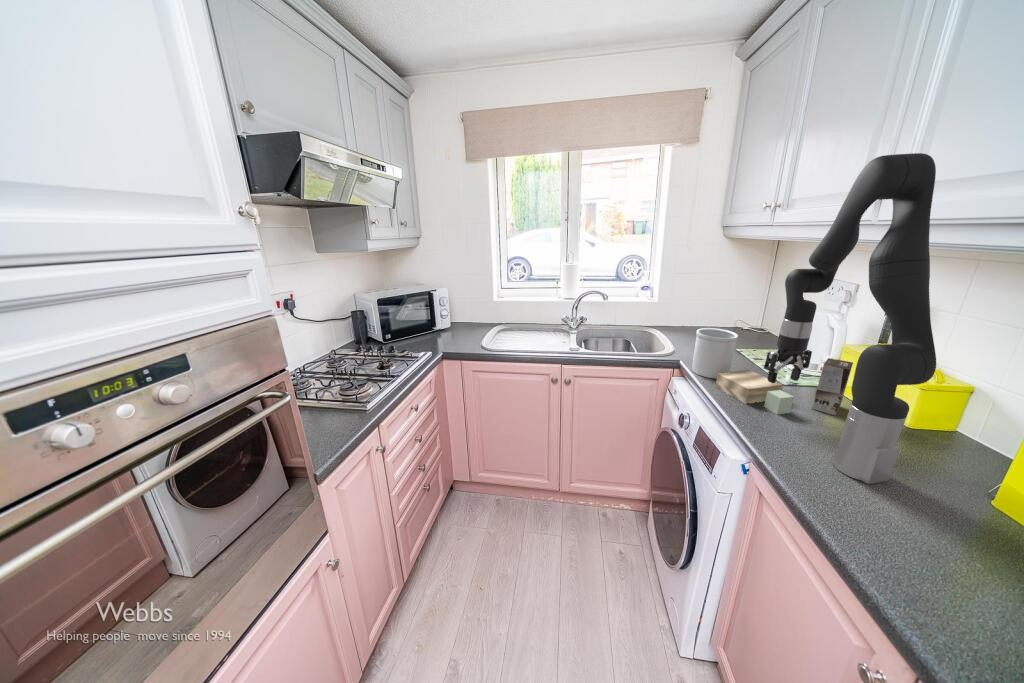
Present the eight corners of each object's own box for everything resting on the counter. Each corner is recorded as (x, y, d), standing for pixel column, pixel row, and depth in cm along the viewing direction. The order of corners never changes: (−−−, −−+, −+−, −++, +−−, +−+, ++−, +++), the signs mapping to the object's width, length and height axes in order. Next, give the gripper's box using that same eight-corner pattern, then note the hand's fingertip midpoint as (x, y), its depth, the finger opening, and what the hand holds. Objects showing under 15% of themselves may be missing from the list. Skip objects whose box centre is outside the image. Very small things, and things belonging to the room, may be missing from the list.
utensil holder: (723, 366, 153) (730, 328, 148) (736, 380, 139) (744, 338, 134) (687, 364, 156) (692, 327, 151) (696, 378, 143) (702, 337, 137)
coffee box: (836, 416, 112) (850, 369, 107) (810, 408, 117) (822, 364, 112) (840, 406, 118) (854, 362, 113) (816, 400, 123) (828, 357, 118)
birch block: (778, 400, 124) (782, 384, 122) (745, 404, 121) (748, 389, 120) (745, 383, 137) (748, 369, 135) (715, 387, 134) (717, 373, 133)
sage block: (790, 413, 115) (794, 396, 113) (776, 414, 114) (780, 398, 112) (776, 405, 120) (780, 390, 118) (763, 407, 119) (767, 391, 117)
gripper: (785, 339, 104) (773, 388, 109) (826, 335, 106) (812, 383, 112) (764, 331, 111) (754, 378, 116) (802, 328, 113) (791, 374, 119)
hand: (782, 381), depth 114 cm, fingers open, 8 cm apart
